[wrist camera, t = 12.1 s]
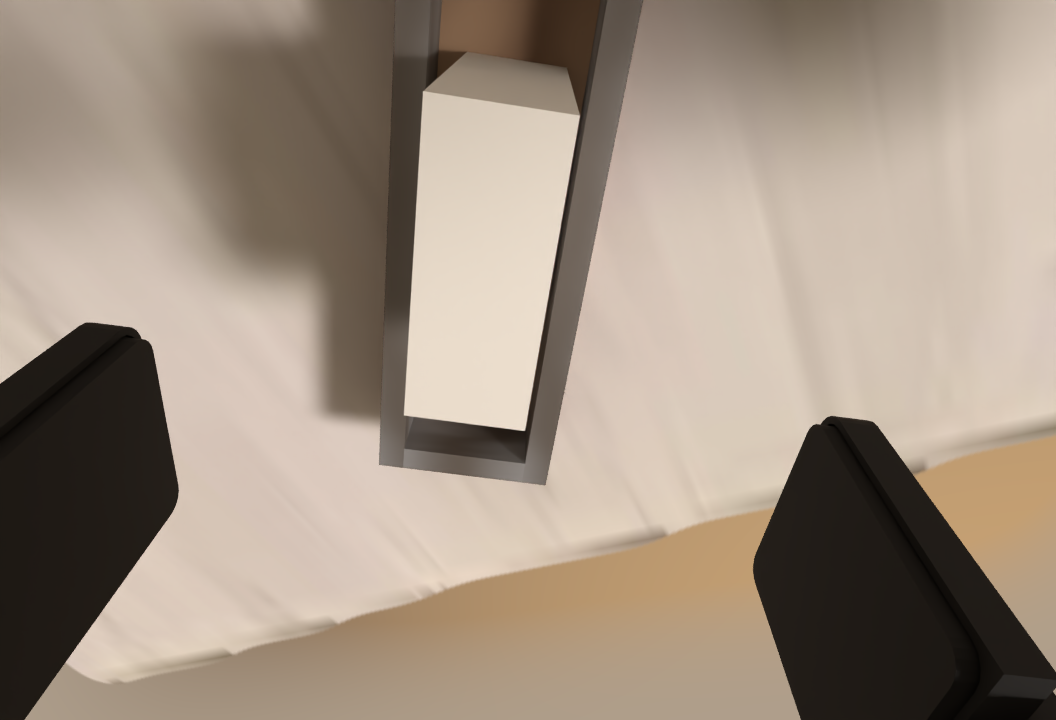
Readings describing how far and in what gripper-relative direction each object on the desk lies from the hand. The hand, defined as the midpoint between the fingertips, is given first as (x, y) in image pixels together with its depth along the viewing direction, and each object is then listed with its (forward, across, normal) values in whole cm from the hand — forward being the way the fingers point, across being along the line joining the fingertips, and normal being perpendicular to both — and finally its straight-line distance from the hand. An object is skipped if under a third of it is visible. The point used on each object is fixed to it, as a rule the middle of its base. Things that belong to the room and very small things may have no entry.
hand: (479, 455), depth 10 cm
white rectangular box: (+21, +1, +2) cm, 21 cm away
